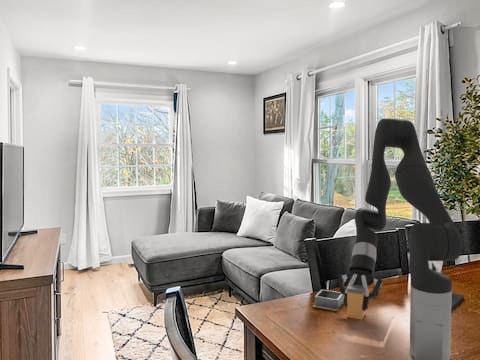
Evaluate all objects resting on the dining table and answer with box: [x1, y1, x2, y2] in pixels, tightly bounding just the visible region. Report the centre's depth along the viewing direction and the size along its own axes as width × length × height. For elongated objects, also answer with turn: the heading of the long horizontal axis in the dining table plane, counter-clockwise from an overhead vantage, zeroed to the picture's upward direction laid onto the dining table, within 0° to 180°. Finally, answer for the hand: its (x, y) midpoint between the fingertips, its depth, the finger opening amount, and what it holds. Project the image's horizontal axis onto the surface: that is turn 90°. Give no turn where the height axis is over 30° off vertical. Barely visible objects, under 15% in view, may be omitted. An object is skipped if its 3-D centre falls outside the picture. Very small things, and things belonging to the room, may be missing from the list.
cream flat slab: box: [312, 303, 344, 312], centre depth 132 cm, size 10×8×1 cm
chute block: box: [346, 284, 366, 320], centre depth 122 cm, size 4×4×10 cm
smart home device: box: [451, 292, 465, 312], centre depth 134 cm, size 8×2×20 cm
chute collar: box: [314, 289, 345, 310], centre depth 132 cm, size 8×8×3 cm
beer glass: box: [428, 261, 444, 273], centre depth 151 cm, size 7×7×15 cm
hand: (355, 308), depth 120 cm, fingers closed on chute block, 4 cm apart
